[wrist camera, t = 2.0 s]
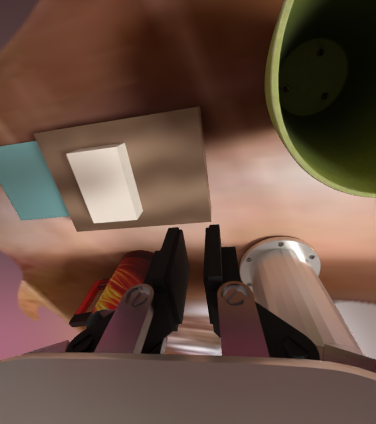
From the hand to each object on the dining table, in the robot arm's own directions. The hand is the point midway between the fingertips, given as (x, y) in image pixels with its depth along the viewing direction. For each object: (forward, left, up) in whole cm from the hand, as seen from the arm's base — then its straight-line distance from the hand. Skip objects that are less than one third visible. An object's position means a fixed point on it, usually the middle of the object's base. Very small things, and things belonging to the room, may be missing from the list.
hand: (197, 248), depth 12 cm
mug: (-20, +15, -19) cm, 32 cm away
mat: (0, +27, -19) cm, 33 cm away
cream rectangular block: (0, +12, -15) cm, 19 cm away
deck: (0, +10, -19) cm, 22 cm away
